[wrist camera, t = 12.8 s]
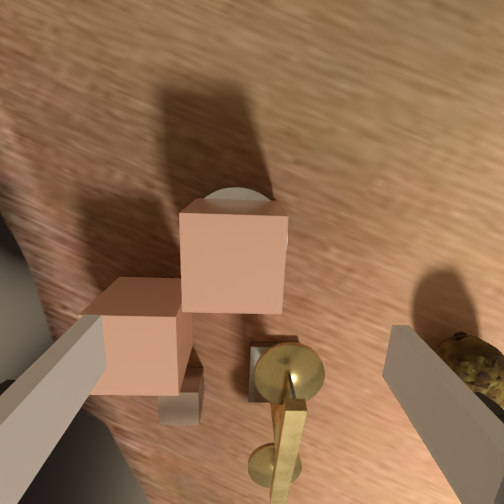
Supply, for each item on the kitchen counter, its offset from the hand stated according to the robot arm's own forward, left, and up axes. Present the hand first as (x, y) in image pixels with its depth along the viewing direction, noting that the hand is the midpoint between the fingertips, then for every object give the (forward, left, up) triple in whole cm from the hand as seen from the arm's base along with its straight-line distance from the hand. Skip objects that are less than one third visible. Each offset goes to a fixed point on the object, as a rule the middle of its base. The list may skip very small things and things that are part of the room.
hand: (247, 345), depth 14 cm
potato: (+15, +26, -21) cm, 37 cm away
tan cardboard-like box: (+9, -10, -21) cm, 25 cm away
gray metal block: (+19, -7, -21) cm, 29 cm away
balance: (+17, +4, -21) cm, 27 cm away
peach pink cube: (0, -1, -20) cm, 20 cm away
